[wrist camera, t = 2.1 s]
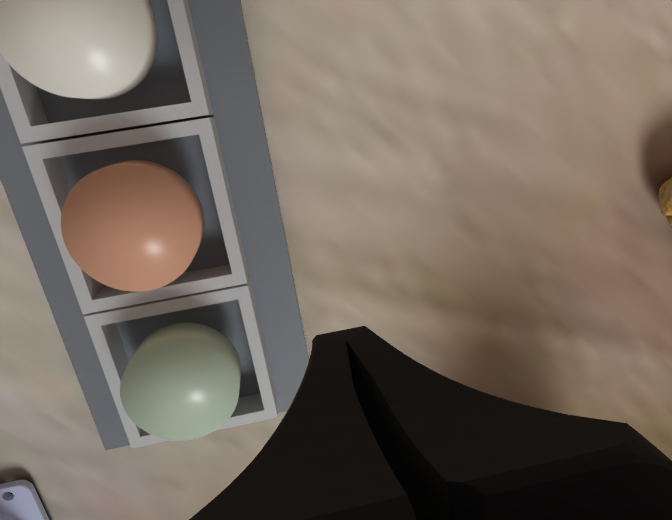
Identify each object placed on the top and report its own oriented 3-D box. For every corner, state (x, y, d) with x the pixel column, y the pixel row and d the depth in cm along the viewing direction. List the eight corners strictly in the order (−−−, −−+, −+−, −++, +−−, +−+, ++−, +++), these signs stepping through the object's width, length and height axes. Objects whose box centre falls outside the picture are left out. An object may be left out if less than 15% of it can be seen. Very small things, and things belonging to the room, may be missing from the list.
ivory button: (40, 108, 15) (16, 108, 14) (-11, -42, 14) (-45, -61, 12) (172, 89, 16) (163, 86, 14) (136, -60, 14) (120, -80, 13)
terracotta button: (101, 285, 17) (85, 302, 16) (62, 171, 16) (41, 177, 15) (216, 264, 18) (211, 278, 16) (188, 150, 16) (180, 154, 15)
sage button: (148, 425, 20) (138, 451, 18) (117, 334, 18) (104, 354, 17) (250, 403, 20) (249, 427, 18) (228, 312, 19) (225, 330, 17)
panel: (111, 438, 22) (94, 472, 20) (-83, -73, 15) (-138, -102, 13) (315, 394, 23) (320, 423, 21) (219, -107, 16) (212, -139, 14)
